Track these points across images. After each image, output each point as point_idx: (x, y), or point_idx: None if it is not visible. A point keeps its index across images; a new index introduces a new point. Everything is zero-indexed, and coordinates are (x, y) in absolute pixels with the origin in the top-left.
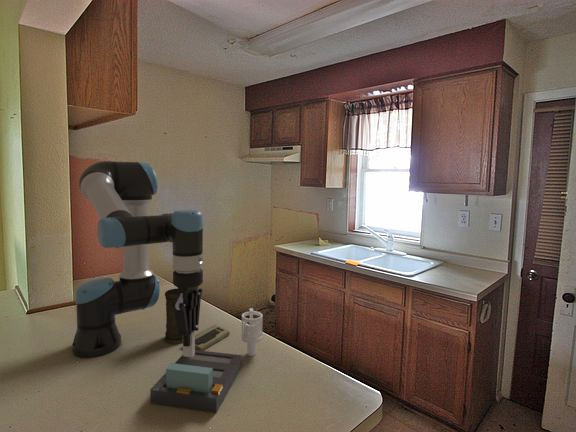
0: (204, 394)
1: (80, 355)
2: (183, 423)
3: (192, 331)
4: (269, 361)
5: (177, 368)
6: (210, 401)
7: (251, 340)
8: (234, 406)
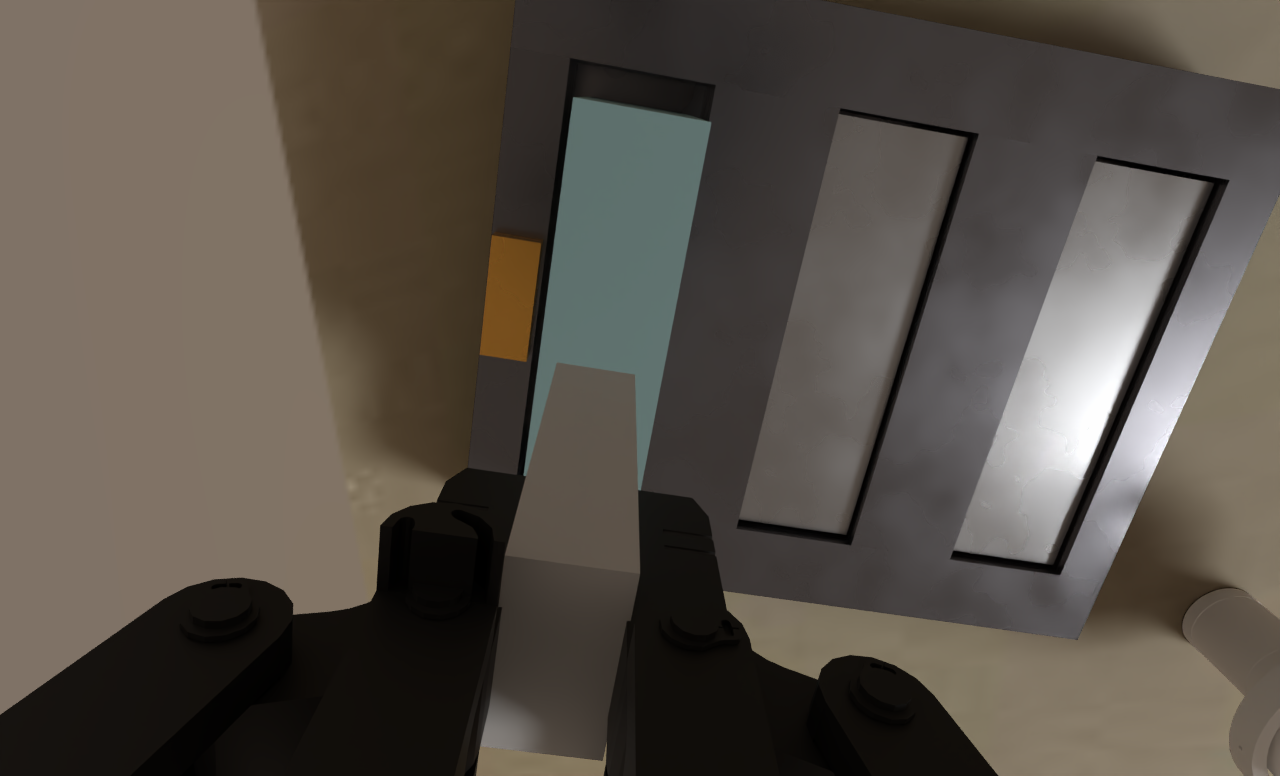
0: (498, 462)
1: None
2: (352, 313)
3: (605, 721)
4: (1074, 737)
5: (591, 238)
6: None
7: (1251, 746)
8: None
